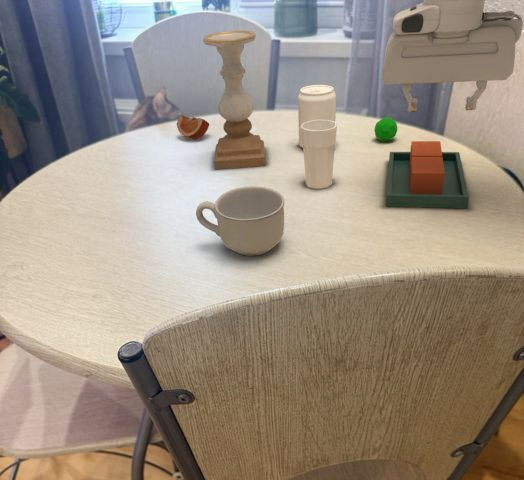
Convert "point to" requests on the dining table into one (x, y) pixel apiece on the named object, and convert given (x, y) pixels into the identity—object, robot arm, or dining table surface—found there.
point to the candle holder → (235, 105)
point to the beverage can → (316, 105)
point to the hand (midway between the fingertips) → (440, 110)
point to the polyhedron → (386, 129)
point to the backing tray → (450, 197)
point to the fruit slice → (192, 127)
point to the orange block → (426, 175)
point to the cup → (318, 152)
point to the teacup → (247, 219)
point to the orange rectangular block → (425, 149)
